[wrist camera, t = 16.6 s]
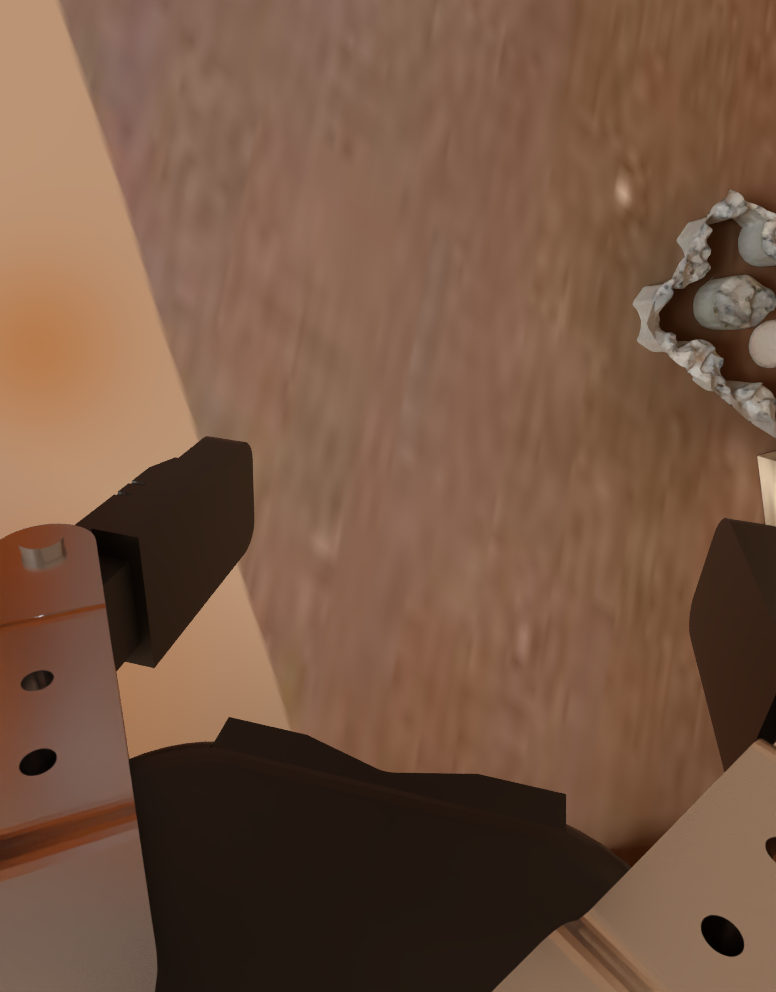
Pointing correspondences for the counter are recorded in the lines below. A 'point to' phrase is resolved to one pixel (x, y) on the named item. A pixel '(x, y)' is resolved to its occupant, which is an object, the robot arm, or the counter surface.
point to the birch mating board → (768, 485)
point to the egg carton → (721, 307)
